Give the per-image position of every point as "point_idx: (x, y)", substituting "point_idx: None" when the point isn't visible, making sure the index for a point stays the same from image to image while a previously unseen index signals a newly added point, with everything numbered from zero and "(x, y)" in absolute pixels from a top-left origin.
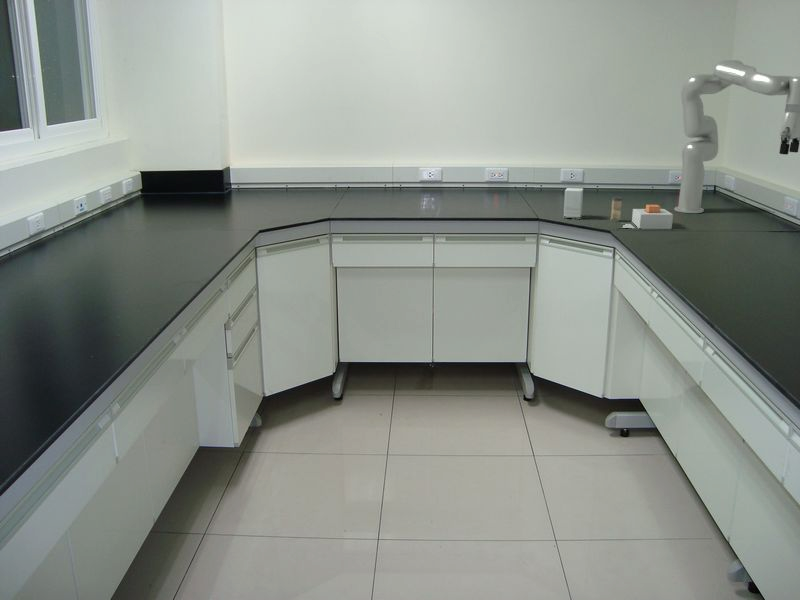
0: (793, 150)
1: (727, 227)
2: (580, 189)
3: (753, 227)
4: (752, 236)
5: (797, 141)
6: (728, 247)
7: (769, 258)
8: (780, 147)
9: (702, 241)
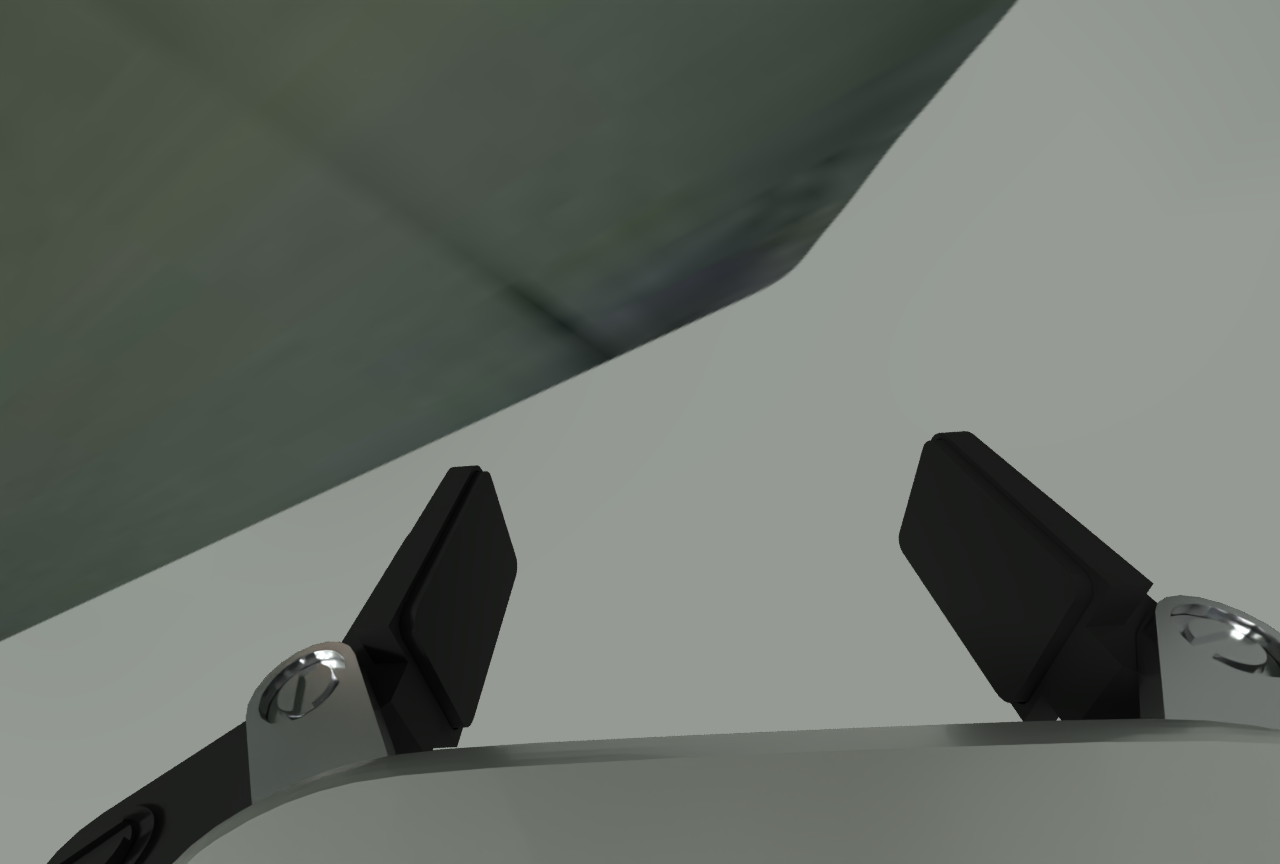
0: (923, 513)
1: (397, 64)
2: None
3: (536, 179)
4: (349, 295)
5: (1082, 716)
6: (81, 342)
7: (145, 500)
8: (404, 550)
9: (4, 196)
